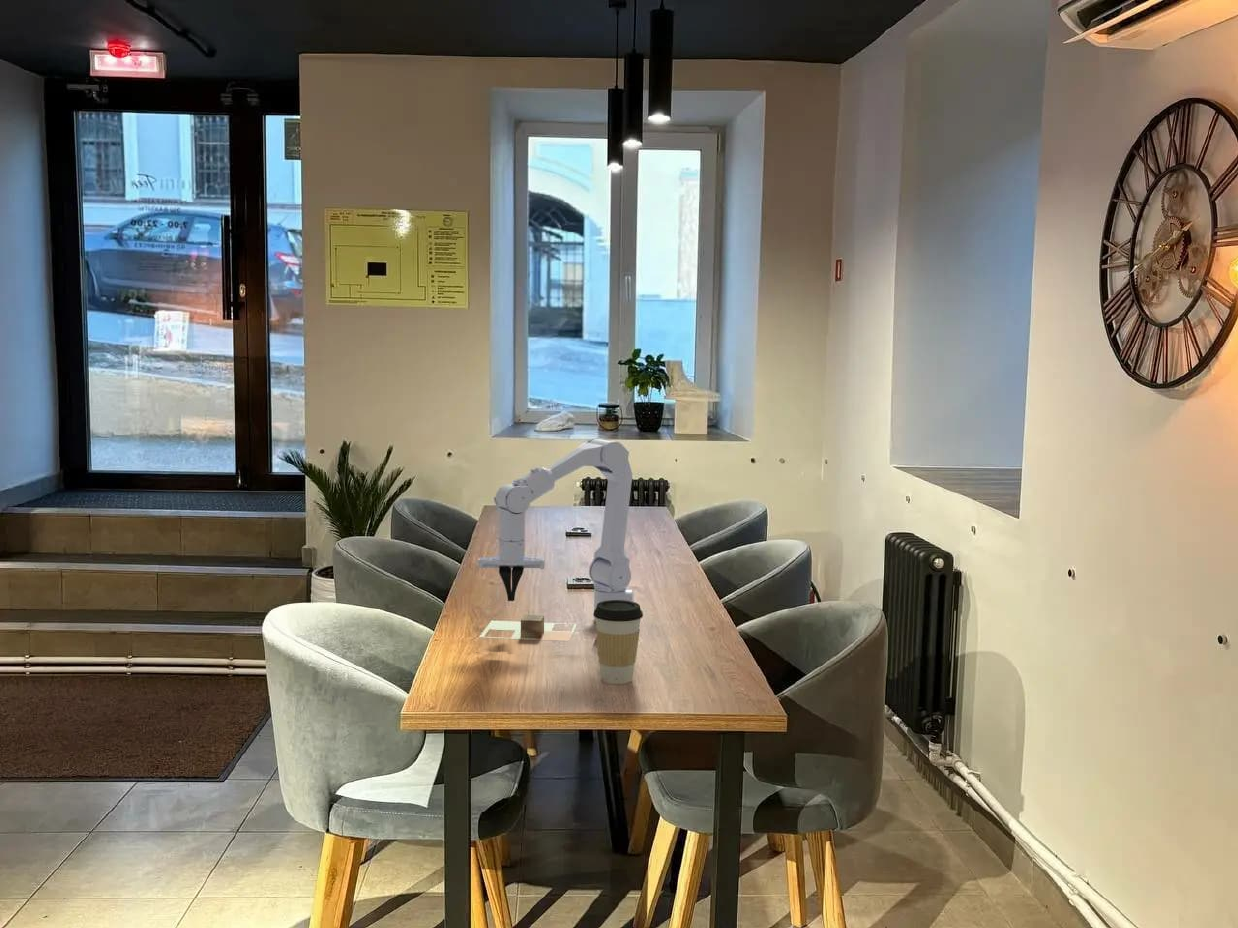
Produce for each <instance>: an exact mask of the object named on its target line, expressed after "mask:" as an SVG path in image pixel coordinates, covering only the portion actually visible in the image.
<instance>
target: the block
mask: <svg viewBox="0 0 1238 928" xmlns="http://www.w3.org/2000/svg"><path fill="white" fill-rule="evenodd" d="M520 622H521V638H536V639H541V638H542V636H543V634H544V623H545V615H539V614H523V616H522V618H521V619H520Z"/></svg>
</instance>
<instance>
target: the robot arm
mask: <svg viewBox="0 0 1238 928" xmlns="http://www.w3.org/2000/svg"><path fill="white" fill-rule="evenodd" d="M629 453H630V452H629V451H628V449H627V448H626V447H625V446H624V445H623V444H622V443H621V442H619V441H616V440H615V441H613V440H606V439H601V438H597V437H593V438H590V439H589V440H587V441H586V442H583V443H580V445H579V444H578V447H576V448H575V449H574V450H572V451H571V452H569V453H568V454H566V455H565V456H563V457H561V458H560V459H559V460H558V461H556V462H555V463H553V464H552V465H550V466H548V467H547V468H545V467H542V466H539V467H538V466H537V467H536V466H535V467H532V468H531V469H530V472H528V473H527V474H526V475H524V476H522V477H521V478H515V479H513V483H512V484H510V483H508V484H503V485H502V486H501V487H499V488H498V490H497V491H496V494H495V496H494V497H493V501H494V504H495V506H496V508H497V509H498V556H495V557H492V556H491V557H479V558H478V559H477V568H478V569H484V568H487V569H488V568H489V569H490V568H493V569H494V568H495V569H498V573H499V576H500V578H501V580H502V583H503V585H504V588H505V592H506V596H507V602H514V601H515V598H516V591H517V588H518V585H519V582H520V580H521V578H522V576H523V574H524V569H540V570H544V569H545V567H546V566H545V563H546V562H545V558H537V557H536V558H535V557H525V556H526V555H525V553H526V551H525V550H526V545H525V543H526V511H527V510H528V509H529V508H530V506H531V503H532V502H534V501H536V500H538V499H539V498H540V497H542V496H544V495H545V494H547V493H548V492H550V491H552V490H553V489H554V487H555V483H556V482H557V481H558V480H561V479H562V478H564V477H566V476H568V475H570V474H572V473H573V472H575V471H576V470H578V469H580V468H582V467H585V466H586V467H594V468H595V469H597V470H599V472H600V473H602V475H603V476H604V477H605V479H606V480H607V487H606V496H605V497H606V498H605V507H604V513H603V515H604V516H603V522H602V532H601V539H600V541H601V542H600V546H599V547H598V548H597V549H596V550H595V551H594V552H593V553H594V554H593V559H592V562H591V563H590V565H589V569H588V575H589V577H590V580H591V581H592V582H593V587H594V588H593V593H594V595H593V611H594V610H595V609H596V607H597V604H598V603H600V602H603V601H609V600H625V601H631V602H635V601H634V589H627V588H628V586H629V585H630V582H631V580H632V572H631V569H630V557H629V556H628V554H627V552H626V550H625V543H626V533H627V524H628V516H629V515H628V514H629V507H630V498H631V490H632V489H631V488H632V484H633V482H632V481H633V472H632V468H631V464H630V461H629ZM593 621H594V622H596V617H594V616H593Z"/></svg>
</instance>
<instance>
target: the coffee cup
mask: <svg viewBox="0 0 1238 928" xmlns="http://www.w3.org/2000/svg"><path fill="white" fill-rule="evenodd" d="M594 617H596V621H595V625H596V626H595V634H596V645H597V648H596V649H597V655H598V662H599V668H600V669H599V670H600V679H601V681H602V682H604V683H606V684H609V685H625V684H628V683H631V682H632V681H633V676H634V670H635V664H636V660H637V652H638V644H639V639H640V633H641V630H640V625H641V619H642V618H643V617H644V613H643V611H642V609H641V605H640V604H639V603H637V602H635V601H633V602H631V601H625V600H609V601H603V602H600V603H598V604H597V607H596V609H595V610H594V609H593V618H594Z"/></svg>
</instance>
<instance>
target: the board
mask: <svg viewBox="0 0 1238 928" xmlns="http://www.w3.org/2000/svg"><path fill="white" fill-rule="evenodd" d="M555 625H566V623H564V622H563V623H561V622H544V634H543V636H542V638H541V639H536V638H521V621H516V620H515V621H511V620H491V621H490V622H489V623H488V624H487V626H486V627H485V628H484V630H483V631H482V632H481V634H479V636H478V638H480V639H481V638H484V639H503V637H500V636H499V637H497V636H495V637H494V636H486V634H487V633H488V632H489V631H490V630H492V631H514V632H513V633H512V635H511V637H504V639H505V640H506V639H510V640H511V639H512V640H531V641H532V640H536V641H553V642H554V641H556V642H557V641H559V642H560V641H561V642H570V641H571V638H572V636H573V634H574V632H575V629H576V627H577V625H578V624H577V623H569V626H570V625H571V626H572V625H573V627H572V629H571V631H570V630H569V631H567V630H566V631H565V630H553V629H554V626H555Z"/></svg>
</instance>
